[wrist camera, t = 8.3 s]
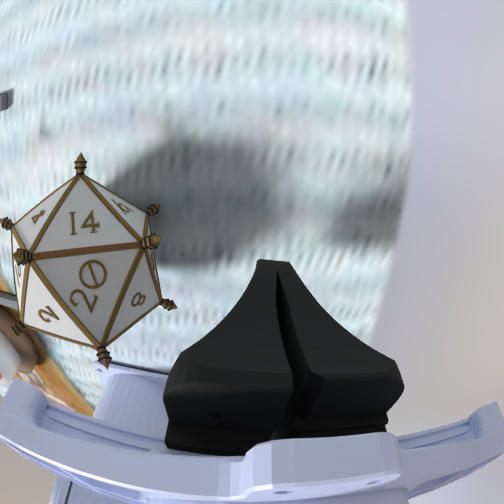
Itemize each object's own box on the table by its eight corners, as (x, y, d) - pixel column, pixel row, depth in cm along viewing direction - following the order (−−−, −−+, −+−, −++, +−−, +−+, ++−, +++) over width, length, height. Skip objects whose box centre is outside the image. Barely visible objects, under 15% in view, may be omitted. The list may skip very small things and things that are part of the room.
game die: (128, 174, 17) (49, 85, 7) (222, 265, 17) (205, 239, 7) (46, 274, 16) (-66, 263, 6) (127, 369, 16) (36, 440, 6)
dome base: (51, 373, 24) (46, 383, 23) (-3, 350, 24) (-8, 358, 23) (15, 307, 19) (7, 318, 18) (-36, 289, 19) (-44, 297, 17)
